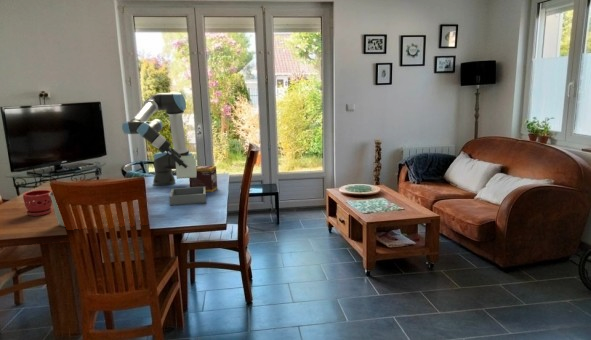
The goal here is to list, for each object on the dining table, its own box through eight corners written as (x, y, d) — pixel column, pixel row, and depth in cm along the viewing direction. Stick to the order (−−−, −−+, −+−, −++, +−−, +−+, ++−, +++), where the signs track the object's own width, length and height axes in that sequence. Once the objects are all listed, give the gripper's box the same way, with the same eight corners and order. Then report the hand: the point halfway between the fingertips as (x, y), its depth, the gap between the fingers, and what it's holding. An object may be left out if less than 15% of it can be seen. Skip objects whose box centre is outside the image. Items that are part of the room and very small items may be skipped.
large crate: (172, 197, 242) (172, 188, 241) (205, 195, 246) (205, 186, 245) (170, 205, 223) (169, 196, 222) (206, 203, 227) (205, 193, 226)
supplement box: (212, 192, 254) (210, 168, 251) (189, 191, 256) (188, 168, 254) (217, 188, 264) (216, 165, 261) (196, 188, 266) (194, 165, 264)
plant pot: (22, 218, 205) (18, 196, 202) (31, 211, 217) (28, 190, 215) (50, 215, 208) (47, 194, 206) (57, 209, 221) (54, 188, 218)
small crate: (177, 175, 236) (176, 156, 234) (196, 174, 238) (195, 155, 236) (176, 178, 225) (175, 159, 223) (196, 177, 228) (195, 158, 226)
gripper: (159, 146, 237) (187, 170, 243) (155, 151, 214) (186, 177, 220) (168, 137, 237) (196, 161, 243) (164, 141, 214) (195, 167, 220)
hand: (191, 169), depth 232 cm, fingers closed on small crate, 11 cm apart
